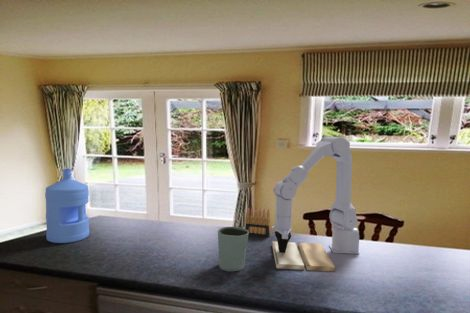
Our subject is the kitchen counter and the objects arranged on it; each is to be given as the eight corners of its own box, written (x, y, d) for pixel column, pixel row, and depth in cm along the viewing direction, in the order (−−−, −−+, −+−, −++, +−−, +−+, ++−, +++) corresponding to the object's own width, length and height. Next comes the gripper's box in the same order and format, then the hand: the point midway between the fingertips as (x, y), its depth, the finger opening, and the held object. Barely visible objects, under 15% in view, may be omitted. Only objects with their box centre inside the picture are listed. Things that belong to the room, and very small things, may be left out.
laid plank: (320, 247, 131) (320, 243, 131) (334, 271, 109) (335, 266, 109) (297, 246, 131) (297, 242, 131) (307, 270, 109) (307, 265, 109)
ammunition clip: (269, 236, 143) (270, 208, 142) (269, 237, 142) (270, 209, 141) (245, 233, 146) (246, 206, 145) (244, 235, 144) (245, 207, 143)
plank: (294, 246, 131) (295, 242, 131) (304, 269, 109) (304, 264, 109) (272, 245, 132) (272, 240, 132) (276, 268, 110) (276, 263, 110)
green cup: (213, 262, 114) (213, 228, 113) (240, 258, 118) (240, 225, 117) (223, 274, 105) (224, 237, 104) (252, 269, 109) (253, 233, 108)
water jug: (36, 241, 131) (34, 170, 129) (67, 229, 146) (66, 166, 144) (69, 246, 126) (67, 172, 124) (97, 233, 141) (96, 168, 139)
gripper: (271, 209, 127) (269, 244, 128) (273, 220, 112) (272, 259, 113) (289, 210, 126) (288, 245, 128) (294, 221, 112) (293, 260, 113)
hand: (282, 252), depth 120 cm, fingers closed, pressing on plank
